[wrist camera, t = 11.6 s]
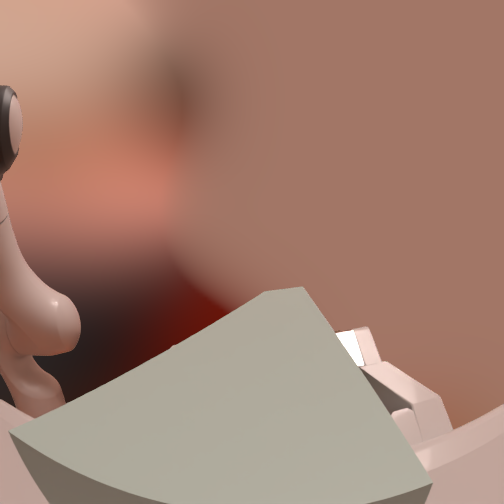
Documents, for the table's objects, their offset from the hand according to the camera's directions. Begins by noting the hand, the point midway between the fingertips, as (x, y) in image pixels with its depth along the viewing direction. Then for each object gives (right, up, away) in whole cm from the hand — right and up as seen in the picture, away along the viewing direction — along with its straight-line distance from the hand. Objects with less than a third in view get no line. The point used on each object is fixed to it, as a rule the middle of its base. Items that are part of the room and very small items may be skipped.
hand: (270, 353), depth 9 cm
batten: (+1, -3, +4) cm, 5 cm away
